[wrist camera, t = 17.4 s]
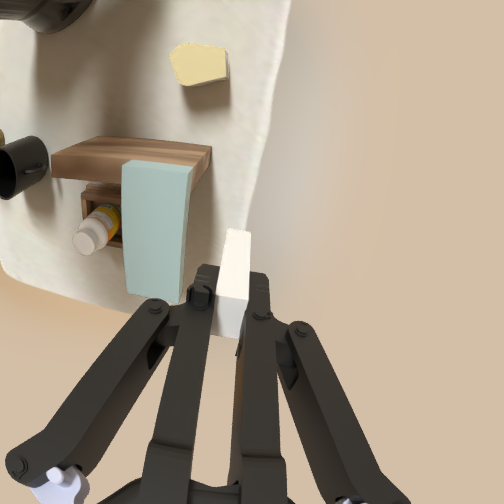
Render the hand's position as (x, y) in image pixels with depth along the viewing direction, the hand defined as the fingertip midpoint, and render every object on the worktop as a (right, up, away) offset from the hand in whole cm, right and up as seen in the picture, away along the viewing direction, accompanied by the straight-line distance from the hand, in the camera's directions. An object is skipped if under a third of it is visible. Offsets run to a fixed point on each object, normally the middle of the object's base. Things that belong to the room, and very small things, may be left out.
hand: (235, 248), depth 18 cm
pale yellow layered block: (-5, +26, +13) cm, 29 cm away
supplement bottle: (-23, +6, +24) cm, 34 cm away
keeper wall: (-14, +15, +19) cm, 28 cm away
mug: (-39, +17, +19) cm, 46 cm away
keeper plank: (-10, +2, +13) cm, 16 cm away
